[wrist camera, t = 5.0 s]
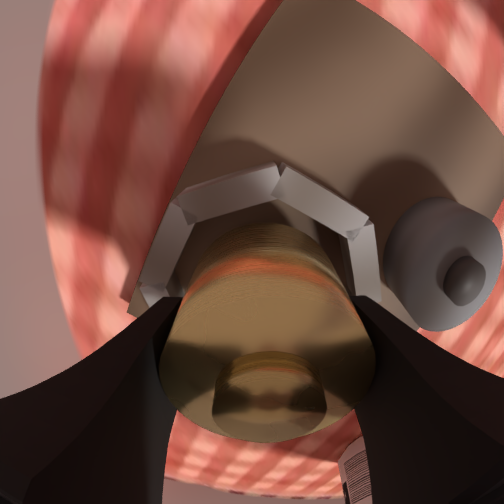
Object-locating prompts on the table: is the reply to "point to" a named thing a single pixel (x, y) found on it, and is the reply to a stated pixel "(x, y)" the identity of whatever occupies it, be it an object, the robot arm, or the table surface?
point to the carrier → (346, 167)
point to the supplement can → (355, 474)
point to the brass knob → (266, 339)
